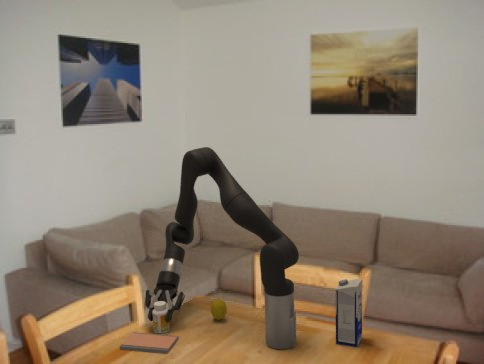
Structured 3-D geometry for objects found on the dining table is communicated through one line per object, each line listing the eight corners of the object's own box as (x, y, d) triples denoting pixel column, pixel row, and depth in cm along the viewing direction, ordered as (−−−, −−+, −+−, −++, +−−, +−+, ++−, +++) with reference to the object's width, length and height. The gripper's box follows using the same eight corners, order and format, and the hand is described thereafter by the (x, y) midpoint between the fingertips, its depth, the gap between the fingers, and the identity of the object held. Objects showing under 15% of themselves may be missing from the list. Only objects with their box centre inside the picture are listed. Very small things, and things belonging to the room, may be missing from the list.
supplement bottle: (171, 326, 189) (169, 300, 187) (167, 334, 184) (165, 306, 182) (155, 326, 189) (154, 300, 188) (151, 333, 184) (149, 306, 182)
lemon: (209, 318, 195) (208, 296, 193) (224, 315, 196) (223, 294, 195) (213, 324, 189) (212, 302, 188) (229, 322, 191) (228, 300, 190)
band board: (178, 338, 180) (178, 335, 180) (167, 353, 170) (167, 350, 170) (133, 335, 184) (133, 331, 184) (119, 349, 174) (119, 345, 174)
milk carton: (357, 347, 169) (357, 285, 166) (335, 344, 172) (335, 283, 169) (362, 337, 176) (362, 278, 172) (341, 334, 179) (341, 275, 175)
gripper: (147, 268, 192) (134, 315, 183) (186, 270, 188) (175, 318, 179) (154, 278, 198) (142, 323, 189) (192, 280, 194) (182, 326, 185)
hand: (158, 320), depth 184 cm, fingers closed on supplement bottle, 5 cm apart
